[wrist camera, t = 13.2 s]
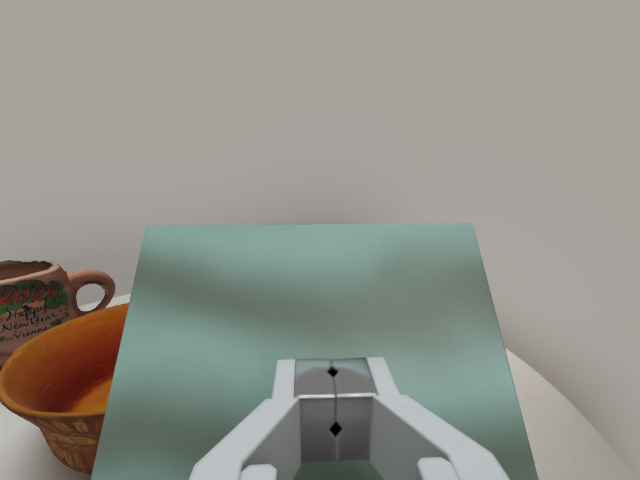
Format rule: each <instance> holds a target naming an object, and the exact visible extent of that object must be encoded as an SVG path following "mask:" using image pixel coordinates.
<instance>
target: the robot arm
mask: <svg viewBox="0 0 640 480" xmlns="http://www.w3.org/2000/svg"><path fill="white" fill-rule="evenodd" d="M363 460H370V463H371V464H372V466H373V467H374V468H375V469H376V471H377V472H378V473H379V474H380V476H381V477H382V478H383V479H384V480H510V479H509V477H508V476H507V474H506V473H505V471H504V470H503V468H502V467H501V465H500V464H499V462H498V461H497V459H496V458H495V456H494V455H493V453H492V452H490V451H489V450H487V449H486V448H484V447H483V446H481V445H480V444H478V443H477V442H475V441H474V440H472V439H471V438H469V437H468V436H466V435H465V434H463V433H462V432H461V431H459V430H458V429H456V428H455V427H453V426H452V425H450V424H449V423H447V422H446V421H444V420H443V419H441V418H440V417H438V416H437V415H435V414H434V413H432V412H431V411H430V410H428V409H427V408H425V407H424V406H422V405H421V404H419V403H418V402H416V401H415V400H413V399H412V398H410V397H409V396H407V395H406V394H402V395H400V392H399V390H398V388H397V385H396V383H395V381H394V379H393V376H392V374H391V372H390V369H389V367H388V365H387V363H386V360H385V358H384V357H383V356H377V357H364V358H345V359H296V360H295V359H278V360H277V362H276V368H275V375H274V382H273V389H272V396H271V399H265V400H264V401H263V402H262V403H261V404H260V405H259V406H258V407H256V408H255V409H254V410H253V411H252V412H251V413H250V414H249V415H248V416H247V417H246V418H245V419H244V420H242V421H241V422H240V423H239V424H238V425H237V426H236V427H235V428H234V429H233V430H232V431H231V432H230V433H228V434H227V435H226V436H225V437H224V438H223V439H222V440H221V441H220V442H219V443H218V444H217V445H216V446H214V447H213V448H212V449H211V450H210V451H209V452H208V453H207V454H206V455H205V456H204V457H203V458H202V459H200V460H199V461H198V462H197V463H196V464H195V465H194V467H193V470H192V473H191V475H190V478H189V480H293V479H294V477H295V475H296V474H297V472H298V470H299V468H300V467H301V463H312V462H326V461H363Z"/></svg>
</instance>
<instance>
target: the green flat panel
mask: <svg viewBox="0 0 640 480" xmlns="http://www.w3.org/2000/svg"><path fill="white" fill-rule="evenodd" d="M377 356H383V357H384V358H385V360H386V363H387V365H388V367H389V369H390V372H391V374H392V376H393V379H394V381H395V383H396V385H397V388H398V390H399V392H400V395H402V394H406V395H407V396H409V397H410V398H412V399H413V400H415V401H416V402H418V403H419V404H421V405H422V406H424V407H425V408H427V409H428V410H430V411H431V412H432V413H434V414H435V415H437V416H438V417H440V418H441V419H443V420H444V421H446V422H447V423H449V424H450V425H452V426H453V427H455V428H456V429H458V430H459V431H461V432H462V433H463V434H465V435H466V436H468V437H469V438H471V439H472V440H474V441H475V442H477V443H478V444H480V445H481V446H483V447H484V448H486V449H487V450H489V451H490V452H492V453H493V455H494V456H495V458H496V459H497V461H498V462H499V464H500V465H501V467H502V468H503V470H504V471H505V473H506V474H507V476H508V477H509V479H510V480H538V476H537V472H536V468H535V464H534V460H533V456H532V452H531V449H530V445H529V441H528V437H527V433H526V429H525V425H524V421H523V417H522V413H521V410H520V406H519V402H518V398H517V394H516V390H515V386H514V382H513V378H512V375H511V371H510V367H509V363H508V359H507V355H506V351H505V347H504V343H503V339H502V336H501V332H500V328H499V324H498V320H497V316H496V312H495V308H494V305H493V301H492V297H491V293H490V289H489V285H488V281H487V277H486V273H485V269H484V265H483V262H482V258H481V254H480V250H479V246H478V242H477V238H476V234H475V230H474V227H473V224H472V223H440V224H439V223H433V224H293V225H291V224H290V225H289V224H288V225H287V224H283V225H281V224H280V225H147V226H146V229H145V234H144V238H143V243H142V247H141V252H140V256H139V261H138V265H137V270H136V275H135V279H134V284H133V288H132V293H131V297H130V302H129V307H128V311H127V316H126V320H125V325H124V329H123V334H122V339H121V343H120V348H119V352H118V357H117V362H116V366H115V371H114V375H113V380H112V384H111V389H110V394H109V398H108V403H107V407H106V412H105V416H104V421H103V426H102V430H101V435H100V439H99V444H98V449H97V453H96V458H95V462H94V467H93V471H92V476H91V480H189V478H190V475H191V473H192V470H193V467H194V465H195V464H196V463H197V462H198V461H199V460H200V459H202V458H203V457H204V456H205V455H206V454H207V453H208V452H209V451H210V450H211V449H212V448H213V447H214V446H216V445H217V444H218V443H219V442H220V441H221V440H222V439H223V438H224V437H225V436H226V435H227V434H228V433H230V432H231V431H232V430H233V429H234V428H235V427H236V426H237V425H238V424H239V423H240V422H241V421H242V420H244V419H245V418H246V417H247V416H248V415H249V414H250V413H251V412H252V411H253V410H254V409H255V408H256V407H258V406H259V405H260V404H261V403H262V402H263V401H264V400H265V399H271V396H272V389H273V382H274V375H275V368H276V362H277V360H278V359H295V360H296V359H345V358H364V357H377ZM293 480H384V479H383V478H382V477H381V476H380V474H379V473H378V472H377V471H376V469H375V468H374V467H373V466H372V464H371V463H370V460H363V461H326V462H312V463H301V467H300V468H299V470H298V472H297V474H296V475H295V477H294V479H293Z"/></svg>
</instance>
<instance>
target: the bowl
mask: <svg viewBox="0 0 640 480" xmlns="http://www.w3.org/2000/svg"><path fill="white" fill-rule="evenodd" d="M128 307H129V303H127V304H122V305H117V306H113V307H109V308H106V309H102V310H98V311H94V312H91V313H88V314H86V315H83V316H81V317H78V318H75V319H72V320H70V321H68V322H65V323H63V324H60V325H58V326H55V327H53V328H51V329H49V330H47V331H45V332H43V333H41V334H39V335H38V336H36V337H34V338H33V339H31V340H29V341H28V342H26V343H25V344H23V345H22V346H21V347H19V348H18V349H16V350H15V351H14V353H13V354H12V355H11V357H10V358H9V359H8V360H7V361H6V363H5V364H4V365H3V367H2V369H1V371H0V401H1V403H2V404H3V405H4V406H5V407H6V408H7V409H8V410H10V411H12V412H13V413H15V414H17V415H18V416H20V417H22V418H24V419H26V420H28V421H30V422H31V423H33V424H35V425H36V426H38V427H39V428H40V430H41V432H42V433H43V435H44V437H45V439H46V441H47V443H48V445H49V447H50V449H51V451H52V452H53V454H54V455H55V456H56V457H57V458H58V459H59V460H60V461H61V462H62V463H63V464H65V465H66V466H68V467H70V468H72V469H74V470H77V471H81V472H85V473H92V471H93V467H94V462H95V458H96V453H97V449H98V444H99V439H100V435H101V430H102V426H103V421H104V416H105V412H106V407H107V403H108V398H109V394H110V389H111V384H112V380H113V375H114V371H115V366H116V362H117V357H118V352H119V348H120V343H121V339H122V334H123V329H124V325H125V320H126V316H127V311H128Z"/></svg>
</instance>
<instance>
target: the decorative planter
mask: <svg viewBox="0 0 640 480" xmlns="http://www.w3.org/2000/svg"><path fill="white" fill-rule="evenodd" d="M92 283H93V284H98V285H100V286H101V287H102V288H103V289H104V290H105V296H104V299H103V300H102V301H101V302H100V304H99V305H98V306H97V307H96V308H95V309H93V310H91V311H81V310H80V309H79V308H78V306H77V301H76V294H77V291H78V290H79V289H80V288H81V287H82V286H84V285H86V284H92ZM114 292H115V283H114V281H113V280H112V278H110V276H109V275H107V274H106V273H104V272H101V271H96V270H83V271H77V272H72V273H70V272H66V271H64V270H63V269H62V268H61V267H60V266H59V265H58V264H57V263H55V262H50V261H49V262H48V261H11V260H8V261H3V262H0V371H1V369H2V367H3V365H4V364H5V363H6V361H7V360H8V359H9V358H10V357H11V355H12V354H13V353H14V351H15V350H16V349H18V348H19V347H21V346H22V345H23V344H25V343H26V342H28V341H29V340H31V339H33V338H34V337H36V336H38V335H39V334H41V333H43V332H45V331H47V330H49V329H51V328H53V327H55V326H58V325H60V324H63V323H65V322H68V321H70V320H72V319H75V318H78V317H81V316H83V315H86V314H88V313H91V312H94V311H98V310H102V309H105V308H106V306H107V305H108V304H109V303H110V301H111V299H112V298H113V295H114Z"/></svg>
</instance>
